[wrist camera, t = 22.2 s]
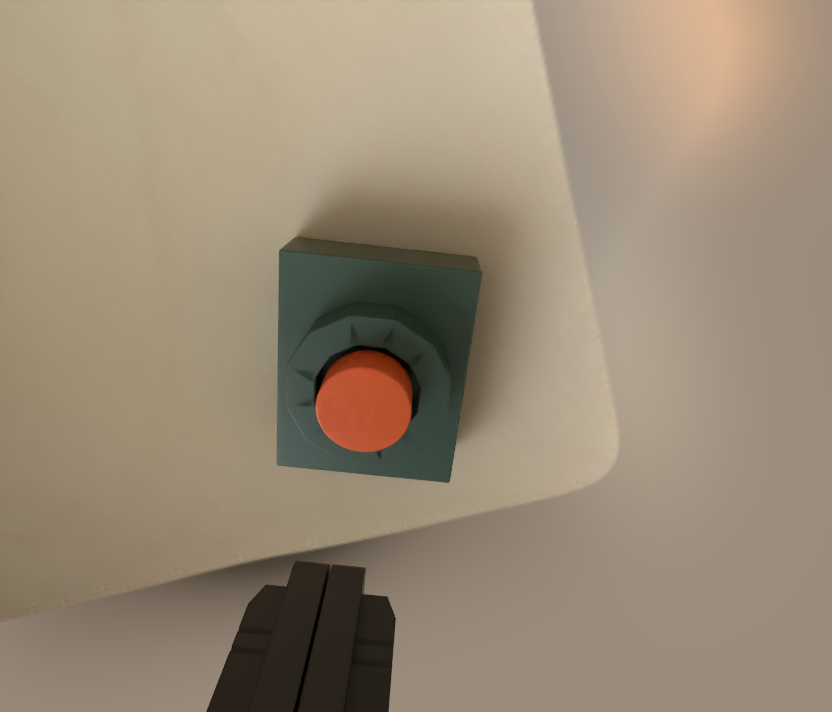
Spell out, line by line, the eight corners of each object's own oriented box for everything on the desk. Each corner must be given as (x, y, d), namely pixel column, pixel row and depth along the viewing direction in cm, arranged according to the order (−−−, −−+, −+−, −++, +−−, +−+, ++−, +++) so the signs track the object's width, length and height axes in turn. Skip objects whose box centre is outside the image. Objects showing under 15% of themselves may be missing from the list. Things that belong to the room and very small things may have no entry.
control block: (477, 256, 24) (486, 283, 20) (448, 451, 28) (451, 508, 24) (294, 236, 24) (266, 259, 20) (289, 435, 28) (265, 489, 24)
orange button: (417, 354, 22) (416, 372, 20) (408, 434, 23) (406, 457, 21) (325, 344, 22) (317, 362, 20) (321, 425, 23) (313, 448, 21)
